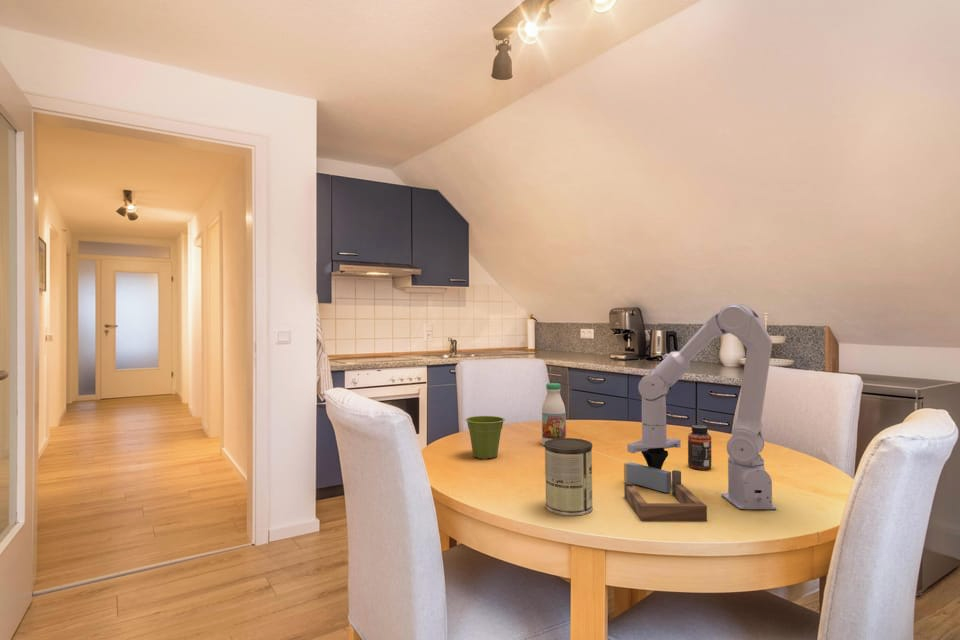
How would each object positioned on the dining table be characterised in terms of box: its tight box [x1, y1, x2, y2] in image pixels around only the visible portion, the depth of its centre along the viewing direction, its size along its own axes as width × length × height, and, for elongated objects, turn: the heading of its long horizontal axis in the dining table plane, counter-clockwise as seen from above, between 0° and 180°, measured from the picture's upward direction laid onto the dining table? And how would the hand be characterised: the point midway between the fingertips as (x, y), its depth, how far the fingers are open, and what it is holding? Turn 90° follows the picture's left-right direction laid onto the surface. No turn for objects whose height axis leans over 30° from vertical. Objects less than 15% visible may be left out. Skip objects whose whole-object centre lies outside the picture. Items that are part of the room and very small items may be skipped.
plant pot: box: [464, 415, 506, 460], centre depth 160 cm, size 12×12×11 cm
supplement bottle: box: [687, 424, 712, 471], centre depth 146 cm, size 6×6×11 cm
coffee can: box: [544, 437, 594, 517], centre depth 116 cm, size 10×10×14 cm
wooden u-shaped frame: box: [623, 469, 708, 522], centre depth 116 cm, size 17×13×6 cm
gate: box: [623, 461, 672, 494], centre depth 129 cm, size 12×2×4 cm, turn 39°
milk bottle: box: [541, 382, 567, 446], centre depth 173 cm, size 8×8×20 cm
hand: (654, 479), depth 131 cm, fingers closed
